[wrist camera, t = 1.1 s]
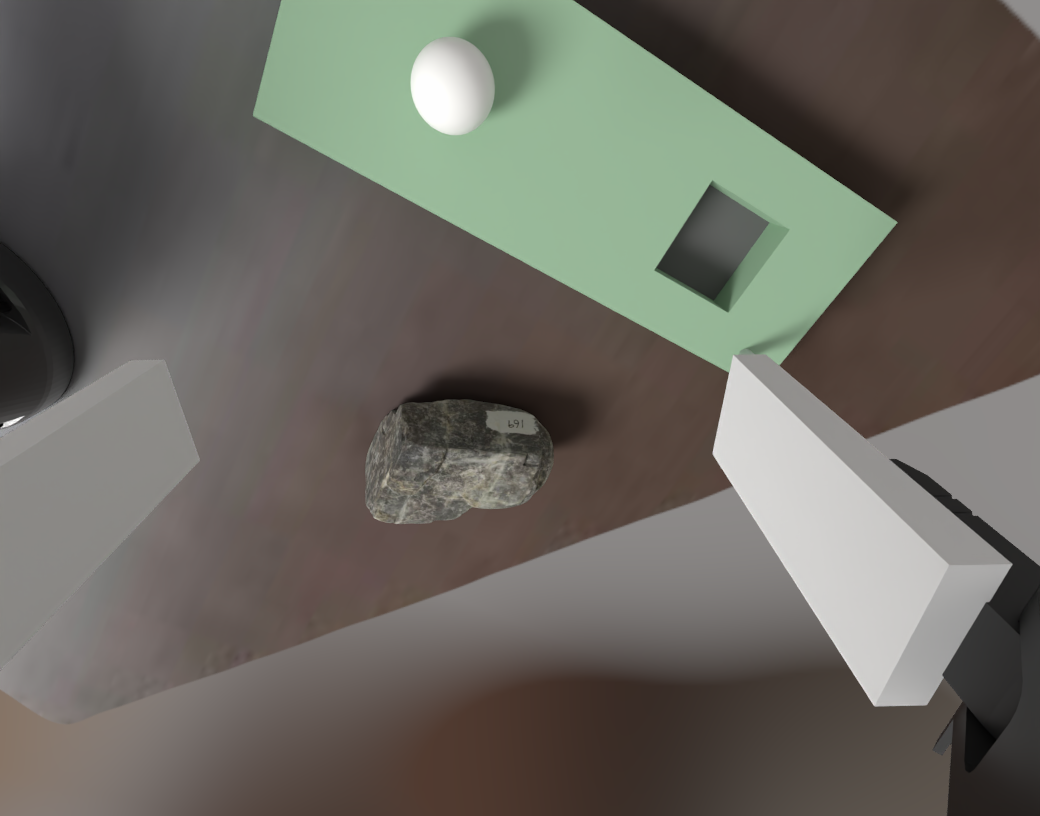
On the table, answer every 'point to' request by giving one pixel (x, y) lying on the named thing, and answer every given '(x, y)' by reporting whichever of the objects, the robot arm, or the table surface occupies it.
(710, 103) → the green
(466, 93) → the ball
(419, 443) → the stone
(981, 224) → the table surface
